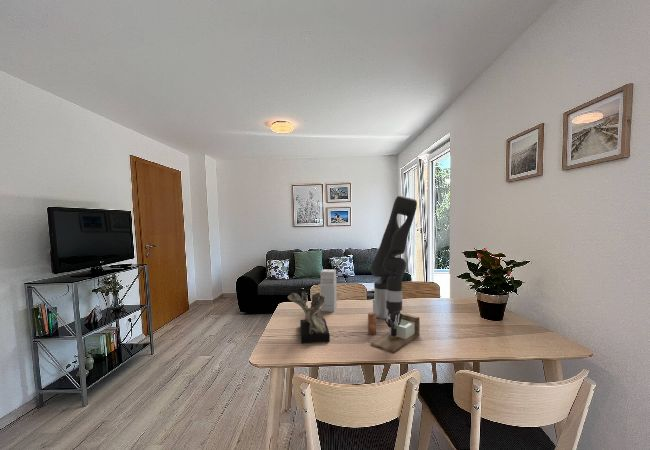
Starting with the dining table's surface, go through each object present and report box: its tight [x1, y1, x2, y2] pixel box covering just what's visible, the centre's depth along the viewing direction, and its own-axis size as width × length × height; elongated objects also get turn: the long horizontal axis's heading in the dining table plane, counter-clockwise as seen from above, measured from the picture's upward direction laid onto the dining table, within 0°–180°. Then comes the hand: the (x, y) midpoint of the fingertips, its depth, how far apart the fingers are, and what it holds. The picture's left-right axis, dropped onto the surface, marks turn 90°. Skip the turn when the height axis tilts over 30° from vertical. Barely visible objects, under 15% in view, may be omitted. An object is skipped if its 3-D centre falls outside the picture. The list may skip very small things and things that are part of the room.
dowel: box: [367, 311, 377, 336], centre depth 144 cm, size 4×4×10 cm
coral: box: [287, 291, 331, 344], centre depth 143 cm, size 25×20×22 cm
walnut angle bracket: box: [370, 312, 421, 354], centre depth 136 cm, size 12×25×9 cm, turn 136°
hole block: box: [388, 319, 415, 339], centre depth 140 cm, size 9×9×6 cm
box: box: [319, 268, 338, 313], centre depth 182 cm, size 8×8×25 cm
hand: (393, 335), depth 135 cm, fingers closed
